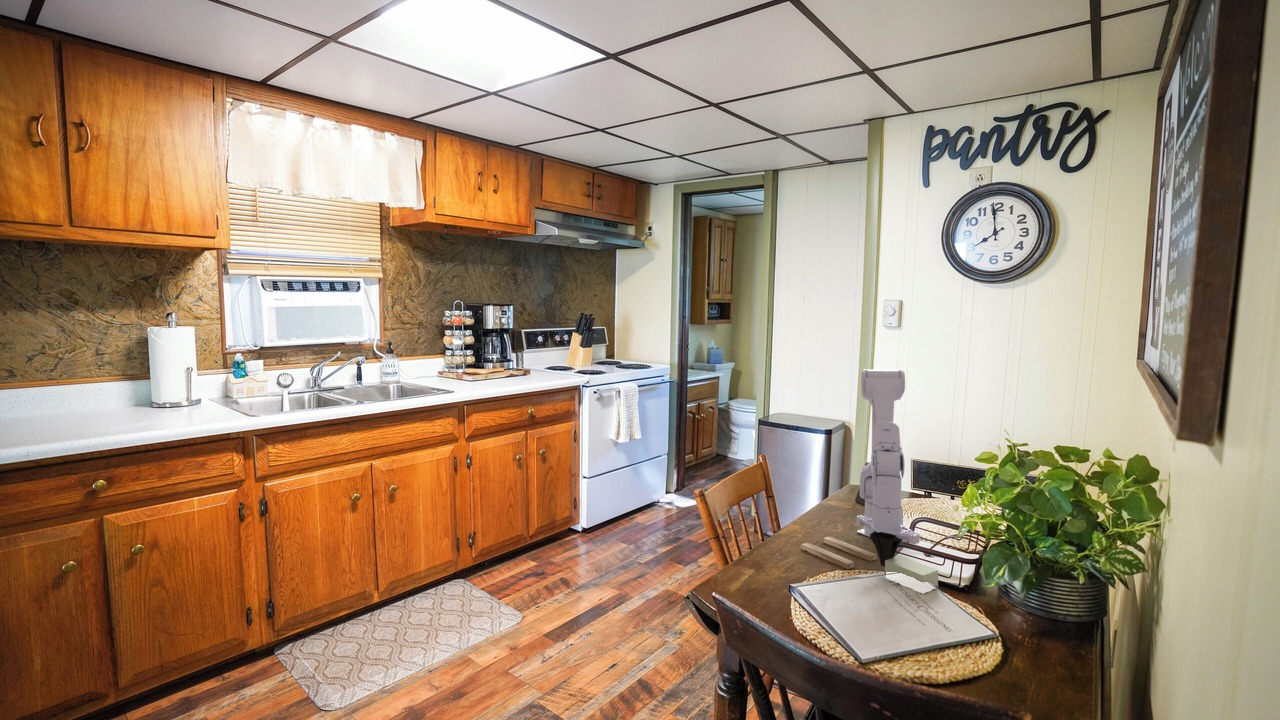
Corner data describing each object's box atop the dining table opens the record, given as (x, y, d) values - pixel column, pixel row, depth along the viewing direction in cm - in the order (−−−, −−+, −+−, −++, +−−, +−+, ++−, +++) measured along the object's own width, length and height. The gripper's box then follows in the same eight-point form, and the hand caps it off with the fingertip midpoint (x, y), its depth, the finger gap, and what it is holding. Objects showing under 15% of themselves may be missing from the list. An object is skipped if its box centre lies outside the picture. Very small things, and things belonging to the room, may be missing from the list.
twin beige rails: (829, 540, 151) (829, 536, 151) (876, 559, 139) (876, 554, 139) (801, 549, 146) (801, 544, 146) (847, 569, 134) (847, 563, 134)
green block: (899, 573, 132) (899, 555, 132) (937, 588, 124) (938, 569, 124) (884, 578, 129) (885, 560, 129) (922, 594, 122) (923, 575, 121)
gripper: (847, 499, 135) (847, 558, 136) (904, 517, 122) (903, 582, 123) (868, 494, 138) (867, 551, 139) (926, 511, 126) (924, 574, 127)
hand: (886, 565), depth 131 cm, fingers closed
